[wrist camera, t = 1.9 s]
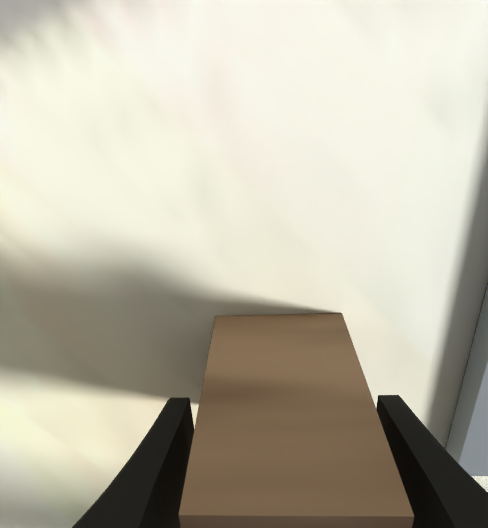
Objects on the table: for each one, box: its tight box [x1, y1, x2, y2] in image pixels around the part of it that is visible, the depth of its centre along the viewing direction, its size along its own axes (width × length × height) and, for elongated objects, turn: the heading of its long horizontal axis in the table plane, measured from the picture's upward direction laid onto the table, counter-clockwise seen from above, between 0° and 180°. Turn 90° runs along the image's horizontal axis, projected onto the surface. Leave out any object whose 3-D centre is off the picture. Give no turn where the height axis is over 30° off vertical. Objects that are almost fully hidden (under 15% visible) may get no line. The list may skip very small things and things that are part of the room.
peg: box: [179, 313, 414, 528], centre depth 11 cm, size 4×4×7 cm
